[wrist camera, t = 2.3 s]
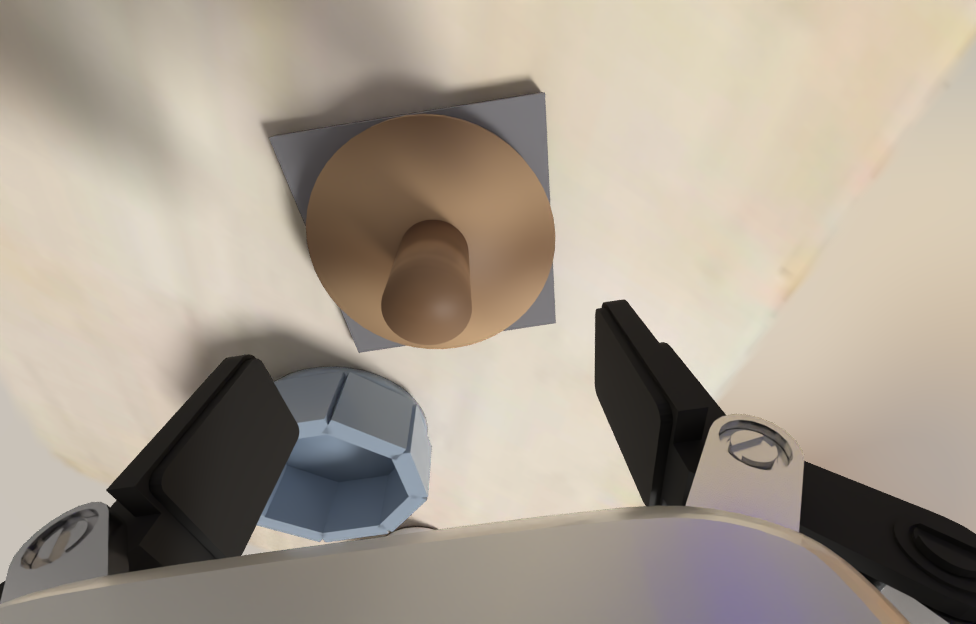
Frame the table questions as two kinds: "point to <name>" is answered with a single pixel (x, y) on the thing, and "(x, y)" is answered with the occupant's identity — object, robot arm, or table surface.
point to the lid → (430, 231)
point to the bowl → (349, 456)
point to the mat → (504, 117)
